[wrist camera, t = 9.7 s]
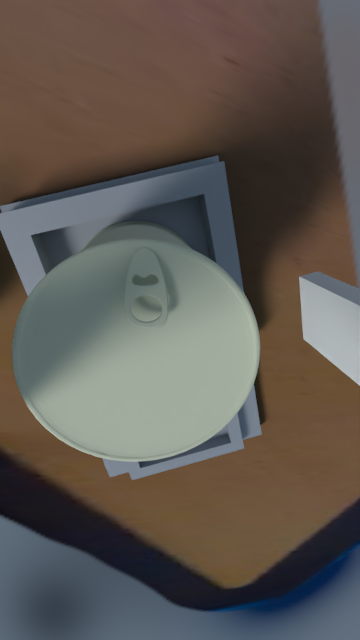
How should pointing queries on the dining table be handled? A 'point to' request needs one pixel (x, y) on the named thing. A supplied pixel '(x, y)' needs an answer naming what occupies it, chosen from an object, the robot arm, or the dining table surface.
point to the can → (136, 346)
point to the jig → (137, 205)
